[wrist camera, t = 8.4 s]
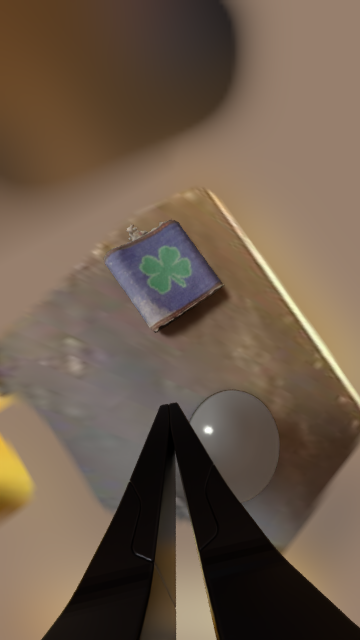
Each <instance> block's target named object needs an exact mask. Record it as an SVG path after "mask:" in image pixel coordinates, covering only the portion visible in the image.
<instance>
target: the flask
mask: <svg viewBox="0 0 360 640" xmlns="http://www.w3.org/2000/svg"><path fill="white" fill-rule="evenodd" d="M133 226H134V225H131V226H130V227H129V228H127V232H129V235H130V237H131V238H132V241H131V242H129V243H127V244H124V245H121V246H119V247H116V248H113V249H111V250H110V251H108V252H107V253H106V255H105V257H104V262H105V264H106V265H107V267H108V268H109V270H110V271H111V273H112V274H113V275H114V277H115V278H116V280H117V281H118V282H119V284H120V285H121V287H122V288H123V289H124V291H125V292H126V294H127V295H128V297H129V298H130V299H131V301H132V302H133V304H134V305H135V307H136V308H137V309H138V311H139V312H140V314H141V315H142V317H143V318H144V320H145V321H146V323H147V324H148V326H149V327H150V329H151V330H152V331H154V332H155V333H156V332H158V331H159V330H160V329H162V328H164V327H166V326H168V325H169V323H171V322H173V321H175V320H176V319H177V318H178V317H180V316H182V315H183V314H184V313H185V312H186V311H189V310H190V309H192V308H194V307H195V306H197V305H198V304H199V303H201V302H202V301H204V300H205V299H207V298H208V297H209V296H211V295H213V294H214V293H215V292H216V291H218V290H219V289H220V288H222V287H223V286H224V285H223V284H222V282H221V281H220V279H219V278H218V277H217V275H216V274H215V273H214V271H213V270H212V268H211V267H210V266H209V265H208V263H207V262H206V260H205V259H204V257H203V256H202V255H201V254H200V252H199V251H198V250H197V248H196V246H195V245H194V243H193V242H192V241H191V240H190V238H189V237H188V235H187V234H186V232H185V231H184V230H183V229H182V227H181V226H180V224H179V222H177V221H175V220H168V221H165V222H160V223H159V226H158V227H157V228H156V229H155V228H154V229H152V230H151V231H150V232H149V233H148V232H147V231H138V230H137V228H136V227H135V228H133V229H132V227H133ZM131 238H129V240H131Z"/></svg>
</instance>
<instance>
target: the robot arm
mask: <svg viewBox="0 0 360 640" xmlns="http://www.w3.org/2000/svg"><path fill="white" fill-rule="evenodd" d="M175 453H176V458H177V462H178V467H179V471H180V476H181V480H182V485H183V489H184V494H185V498H186V503H187V507H188V512H189V516H190V521H191V525H192V530H193V535H194V539H195V543H196V548H197V553H198V557H199V562H200V566H201V571H202V575H203V580H204V584H205V589H206V593H207V597H208V602H209V607H210V611H211V615H212V620H213V625H214V629H215V634H216V638H217V640H360V628H359V627H358V626H357V625H356V624H355V623H353V622H352V621H351V620H350V619H349V618H348V617H347V616H346V615H345V614H344V613H343V612H342V611H340V609H338V608H337V607H336V606H335V605H334V604H333V603H332V602H331V601H330V600H329V599H328V598H327V597H326V596H324V595H323V594H322V593H321V592H320V591H319V590H318V589H317V588H316V587H315V586H314V585H313V584H312V583H311V582H309V581H308V580H307V579H306V578H305V577H304V576H303V575H302V574H301V573H300V572H299V571H298V570H297V569H295V568H294V567H293V566H292V565H291V564H290V563H289V562H288V561H287V560H286V559H285V558H284V557H283V556H282V555H281V553H280V552H279V551H278V550H277V549H276V548H275V547H274V545H273V544H272V543H271V542H270V540H269V539H268V538H267V537H266V535H265V534H264V533H263V532H262V530H261V529H260V528H259V526H258V525H257V524H256V522H255V521H254V520H253V518H252V517H251V516H250V515H249V513H248V512H247V511H246V509H245V508H244V507H243V505H242V504H241V503H240V501H239V500H238V499H237V497H236V496H235V495H234V493H233V492H232V490H231V489H230V488H229V486H228V485H227V483H226V482H225V480H224V479H223V477H222V475H221V474H220V472H219V471H218V469H217V467H216V466H215V464H214V463H213V461H212V459H211V458H210V456H209V454H208V453H207V451H206V449H205V448H204V446H203V444H202V443H201V441H200V439H199V438H198V436H197V434H196V433H195V431H194V429H193V428H192V426H191V424H190V423H189V421H188V420H187V418H186V416H185V415H184V413H183V411H182V410H181V408H180V406H179V405H178V403H170V404H169V405H168V404H165V405H161V406H160V408H159V410H158V413H157V415H156V417H155V420H154V422H153V425H152V427H151V430H150V432H149V434H148V437H147V439H146V442H145V444H144V447H143V449H142V451H141V454H140V456H139V459H138V461H137V464H136V466H135V468H134V471H133V473H132V476H131V478H130V482H129V483H128V485H127V488H126V490H125V493H124V495H123V497H122V499H121V502H120V504H119V506H118V508H117V511H116V513H115V515H114V517H113V519H112V521H111V523H110V525H109V527H108V529H107V531H106V533H105V535H104V537H103V539H102V541H101V543H100V545H99V546H98V548H97V550H96V552H95V554H94V556H93V558H92V560H91V562H90V564H89V566H88V568H87V570H86V572H85V574H84V576H83V578H82V580H81V581H80V583H79V585H78V587H77V589H76V591H75V592H74V594H73V596H72V598H71V599H70V601H69V603H68V604H67V606H66V607H65V609H64V610H63V611H62V613H61V614H60V616H59V617H58V618H57V620H56V621H55V623H54V624H53V625H52V626H51V628H50V629H49V630H48V632H47V633H46V634H45V636H44V637H43V638H42V640H176V609H175V608H176V485H175Z"/></svg>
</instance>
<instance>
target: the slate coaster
mask: <svg viewBox="0 0 360 640" xmlns="http://www.w3.org/2000/svg"><path fill="white" fill-rule="evenodd" d="M189 423H190V424H191V426H192V428H193V429H194V431H195V433H196V434H197V436H198V438H199V439H200V441H201V443H202V444H203V446H204V448H205V449H206V451H207V453H208V454H209V456H210V458H211V459H212V461H213V463H214V464H215V466H216V467H217V469H218V471H219V472H220V474H221V475H222V477H223V479H224V480H225V482H226V483H227V485H228V486H229V488H230V489H231V490H232V492H233V493H234V495H235V496H236V497H237V499H238V500H239V501H240V503H242V502H246V501H248V500H250V499H252V498H254V497H255V496H257V495H258V494H259V493H260V492H261V491H262V490H263V489H264V488H265V487H266V486H267V485H268V483H269V482H270V480H271V478H272V476H273V474H274V472H275V469H276V466H277V463H278V458H279V448H280V443H279V434H278V430H277V426H276V423H275V421H274V418H273V417H272V415H271V413H270V411H269V410H268V409H267V407H266V406H265V405H264V404H263V403H262V402H261V401H260V400H259V399H257V398H256V397H254V396H253V395H250V394H248V393H245V392H242V391H238V390H224V391H220V392H217V393H215V394H213V395H211V396H209V397H208V398H206V399H205V400H204V401H203V402H202V403H201V404H200V405H199V406H198V407H197V409H196V410H195V412H194V413H193V415H192V417H191V419H190V421H189Z"/></svg>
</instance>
